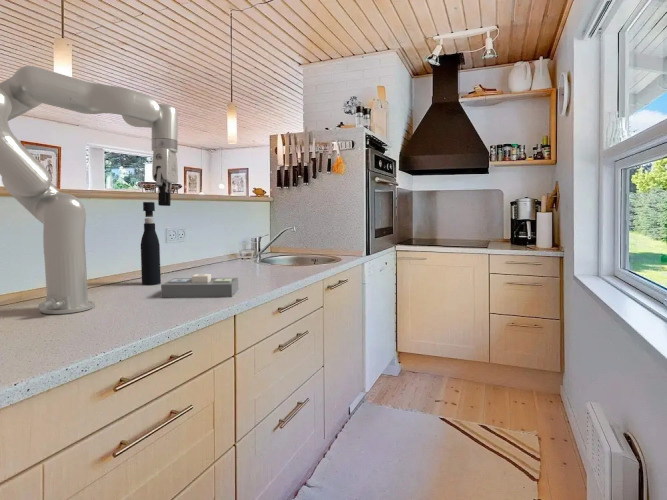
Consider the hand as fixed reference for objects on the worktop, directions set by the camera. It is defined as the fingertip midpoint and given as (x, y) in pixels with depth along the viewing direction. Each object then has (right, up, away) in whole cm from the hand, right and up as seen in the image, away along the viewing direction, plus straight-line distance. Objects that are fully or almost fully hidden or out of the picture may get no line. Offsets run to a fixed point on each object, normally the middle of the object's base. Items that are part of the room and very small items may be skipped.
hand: (164, 205), depth 133 cm
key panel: (+10, -28, +6) cm, 30 cm away
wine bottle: (-14, -27, +24) cm, 38 cm away
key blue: (+3, -27, +6) cm, 28 cm away
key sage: (+17, -27, +7) cm, 32 cm away
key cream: (+10, -25, +6) cm, 28 cm away
